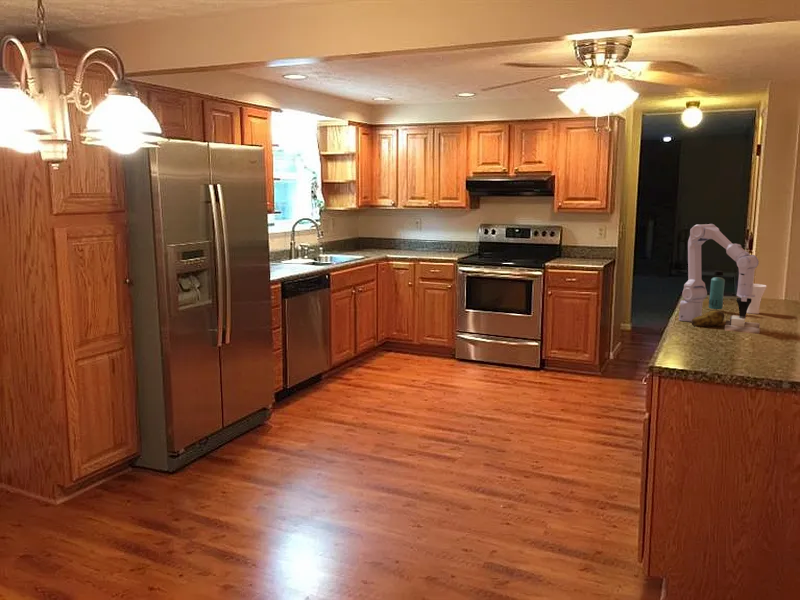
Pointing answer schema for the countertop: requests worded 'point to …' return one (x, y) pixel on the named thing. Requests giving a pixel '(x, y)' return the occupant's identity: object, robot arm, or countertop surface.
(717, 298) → the beverage bottle
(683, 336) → the countertop surface
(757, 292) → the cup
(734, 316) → the block
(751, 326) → the press board
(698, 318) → the potato
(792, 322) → the countertop surface
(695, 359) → the countertop surface
